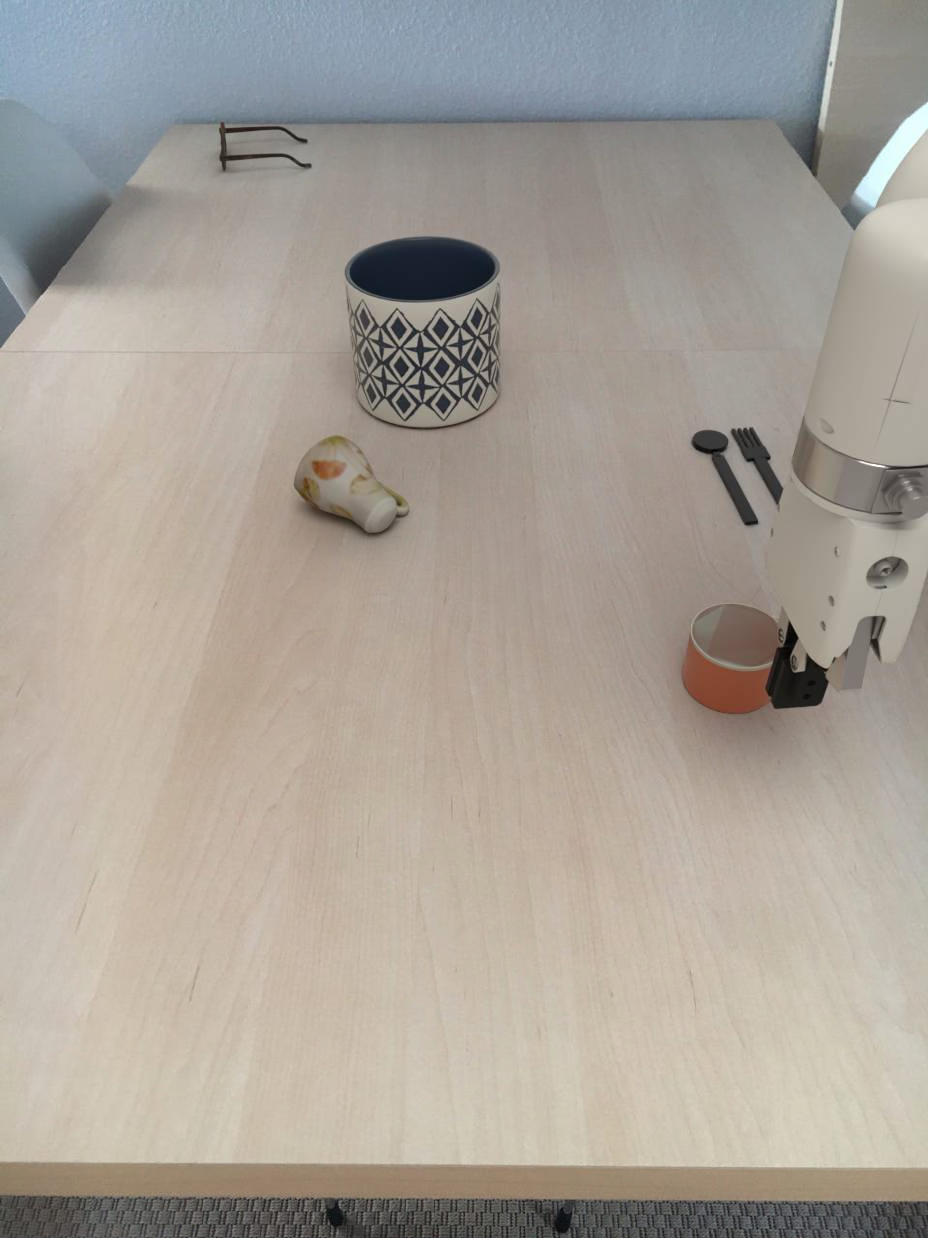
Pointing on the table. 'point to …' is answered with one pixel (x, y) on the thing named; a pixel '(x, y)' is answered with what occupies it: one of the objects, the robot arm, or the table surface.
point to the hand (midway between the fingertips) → (792, 698)
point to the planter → (425, 329)
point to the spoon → (724, 470)
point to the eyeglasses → (224, 157)
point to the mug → (347, 485)
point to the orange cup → (730, 657)
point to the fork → (758, 459)
